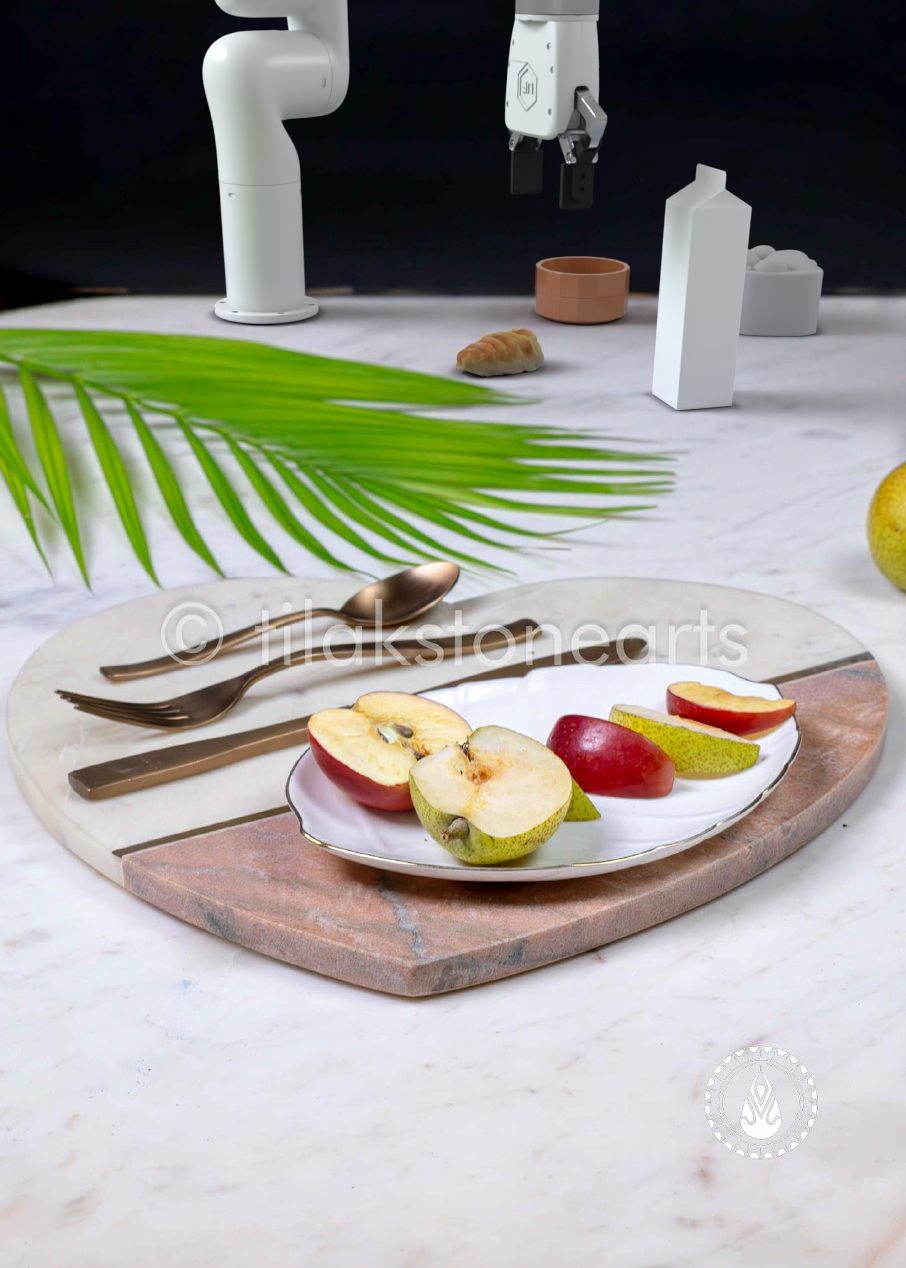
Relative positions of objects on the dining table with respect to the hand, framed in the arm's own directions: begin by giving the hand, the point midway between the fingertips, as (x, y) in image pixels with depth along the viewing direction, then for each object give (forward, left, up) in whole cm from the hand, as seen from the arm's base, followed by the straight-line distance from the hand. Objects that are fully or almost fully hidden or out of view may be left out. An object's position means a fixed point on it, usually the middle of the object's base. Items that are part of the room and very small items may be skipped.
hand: (550, 200), depth 129 cm
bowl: (-27, +20, -18) cm, 38 cm away
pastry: (-9, 0, -19) cm, 21 cm away
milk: (+9, +12, -19) cm, 24 cm away
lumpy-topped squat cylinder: (-14, +37, -19) cm, 44 cm away
